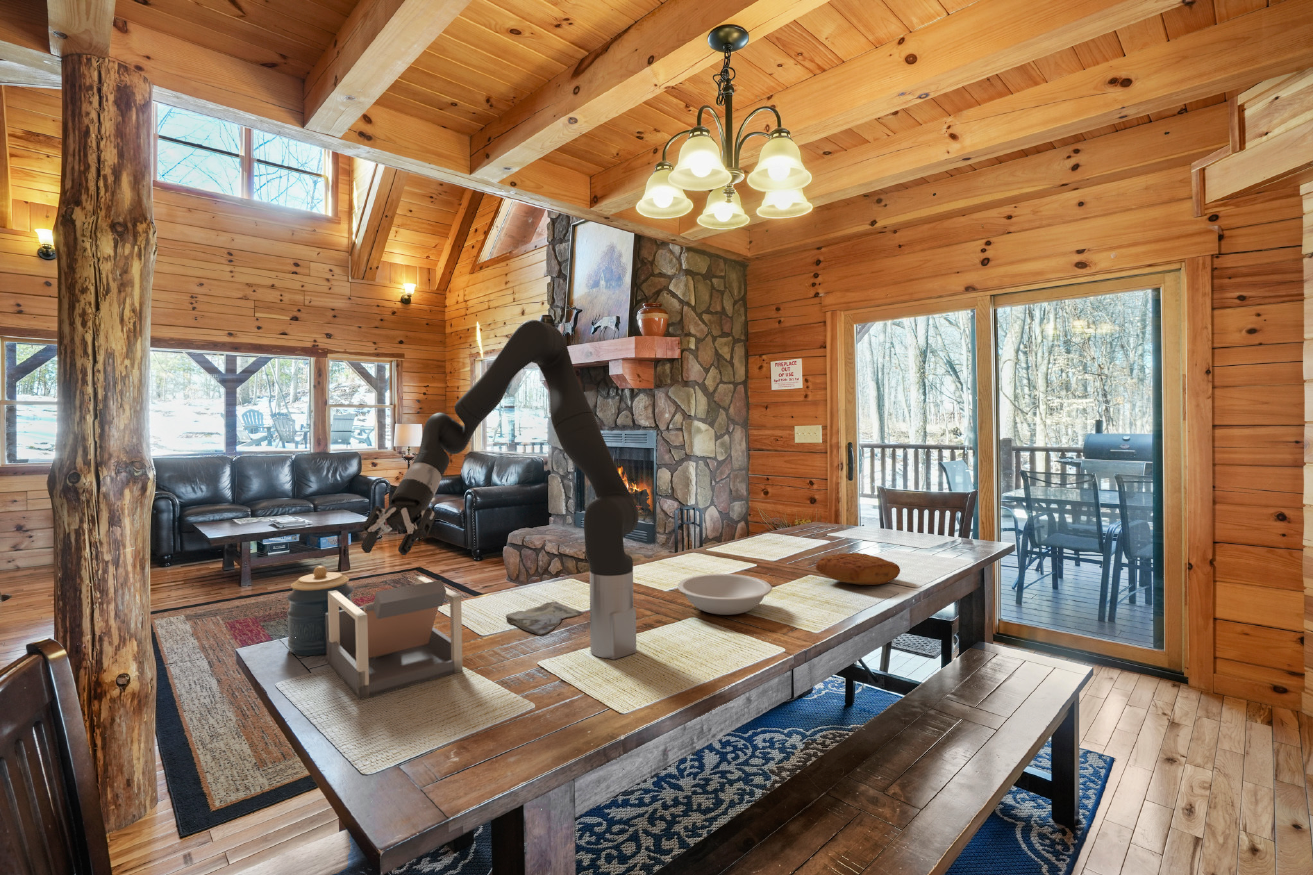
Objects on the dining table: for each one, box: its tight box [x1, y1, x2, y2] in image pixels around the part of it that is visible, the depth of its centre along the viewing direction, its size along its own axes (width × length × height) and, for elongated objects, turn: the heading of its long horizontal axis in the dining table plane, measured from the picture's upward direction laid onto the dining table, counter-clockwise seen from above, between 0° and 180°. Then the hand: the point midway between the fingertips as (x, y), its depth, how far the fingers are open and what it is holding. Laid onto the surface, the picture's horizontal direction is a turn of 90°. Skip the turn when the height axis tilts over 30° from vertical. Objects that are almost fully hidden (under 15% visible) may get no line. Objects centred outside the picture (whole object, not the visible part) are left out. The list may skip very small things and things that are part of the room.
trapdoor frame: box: [325, 575, 463, 701], centre depth 126 cm, size 24×19×15 cm
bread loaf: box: [815, 552, 901, 586], centre depth 186 cm, size 22×17×8 cm
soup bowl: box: [677, 573, 773, 616], centre depth 160 cm, size 24×24×7 cm
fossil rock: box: [505, 601, 584, 636], centre depth 154 cm, size 18×15×2 cm
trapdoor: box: [355, 579, 446, 659], centre depth 121 cm, size 18×14×4 cm
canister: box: [286, 565, 355, 657], centre depth 137 cm, size 13×13×18 cm
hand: (383, 551), depth 125 cm, fingers open, 8 cm apart
